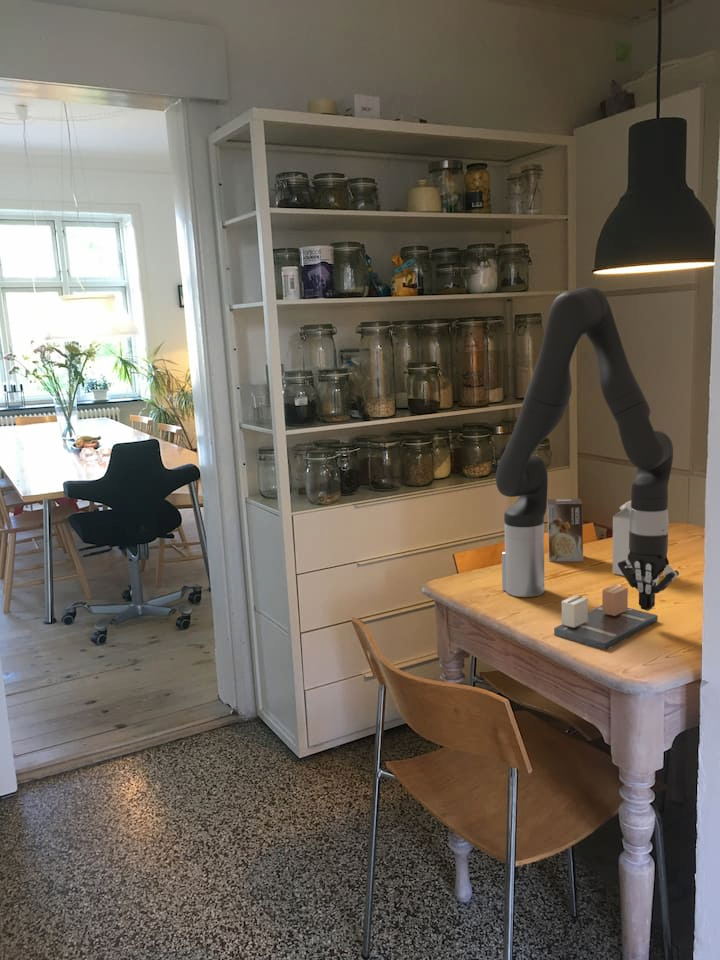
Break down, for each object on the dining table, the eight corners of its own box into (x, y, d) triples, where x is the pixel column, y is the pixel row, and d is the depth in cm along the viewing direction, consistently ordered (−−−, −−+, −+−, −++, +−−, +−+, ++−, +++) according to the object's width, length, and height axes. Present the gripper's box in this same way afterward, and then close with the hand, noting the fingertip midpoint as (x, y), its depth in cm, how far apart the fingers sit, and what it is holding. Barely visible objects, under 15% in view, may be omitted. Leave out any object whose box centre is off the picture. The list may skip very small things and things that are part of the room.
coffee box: (582, 555, 219) (582, 498, 216) (583, 562, 213) (583, 503, 210) (547, 554, 221) (547, 498, 218) (548, 561, 215) (547, 503, 212)
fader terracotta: (602, 612, 172) (602, 589, 171) (615, 606, 175) (615, 583, 174) (614, 615, 170) (614, 592, 169) (627, 609, 173) (627, 586, 172)
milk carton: (652, 572, 202) (653, 499, 198) (638, 579, 197) (639, 504, 193) (626, 567, 207) (626, 495, 203) (612, 574, 202) (612, 501, 198)
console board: (554, 634, 166) (554, 627, 166) (607, 608, 179) (607, 601, 179) (605, 650, 157) (605, 642, 157) (657, 621, 170) (657, 614, 170)
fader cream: (561, 624, 167) (561, 600, 166) (575, 617, 170) (575, 594, 169) (573, 627, 165) (573, 603, 164) (587, 620, 168) (587, 597, 167)
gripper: (609, 527, 166) (608, 606, 169) (670, 538, 156) (667, 622, 160) (628, 520, 171) (627, 596, 174) (688, 530, 161) (685, 611, 164)
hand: (646, 608), depth 167 cm, fingers closed
